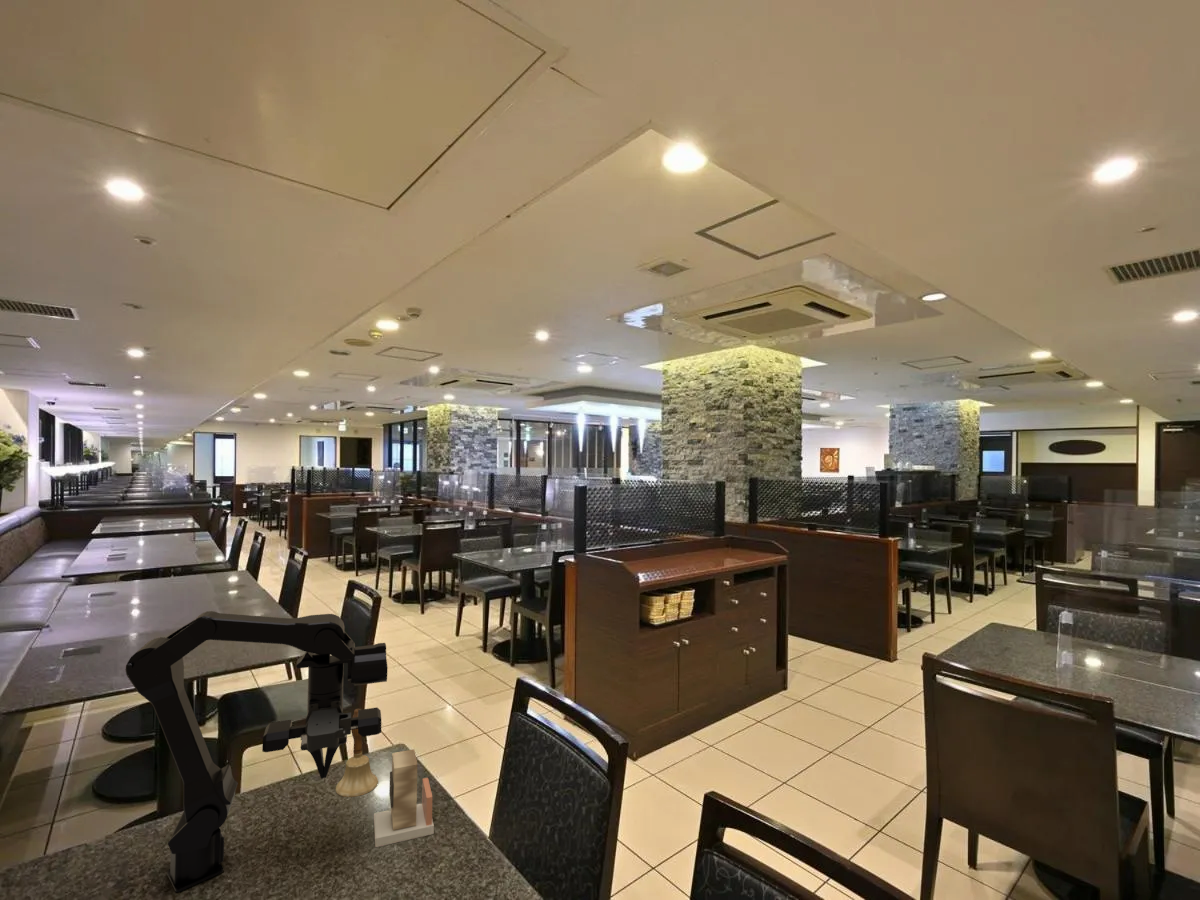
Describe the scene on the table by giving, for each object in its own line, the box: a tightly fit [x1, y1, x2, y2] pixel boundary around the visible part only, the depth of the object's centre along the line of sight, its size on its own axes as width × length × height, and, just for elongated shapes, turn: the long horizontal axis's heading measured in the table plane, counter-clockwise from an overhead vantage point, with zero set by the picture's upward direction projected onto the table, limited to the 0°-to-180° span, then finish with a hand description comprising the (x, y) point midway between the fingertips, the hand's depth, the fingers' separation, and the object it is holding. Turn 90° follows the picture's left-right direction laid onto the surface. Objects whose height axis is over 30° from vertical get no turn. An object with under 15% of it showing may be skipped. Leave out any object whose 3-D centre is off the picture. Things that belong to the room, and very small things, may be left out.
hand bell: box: [335, 708, 379, 798], centre depth 122 cm, size 8×8×16 cm
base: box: [373, 777, 435, 848], centre depth 108 cm, size 10×8×6 cm
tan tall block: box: [388, 748, 418, 830], centre depth 108 cm, size 4×6×11 cm
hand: (323, 777), depth 103 cm, fingers closed
